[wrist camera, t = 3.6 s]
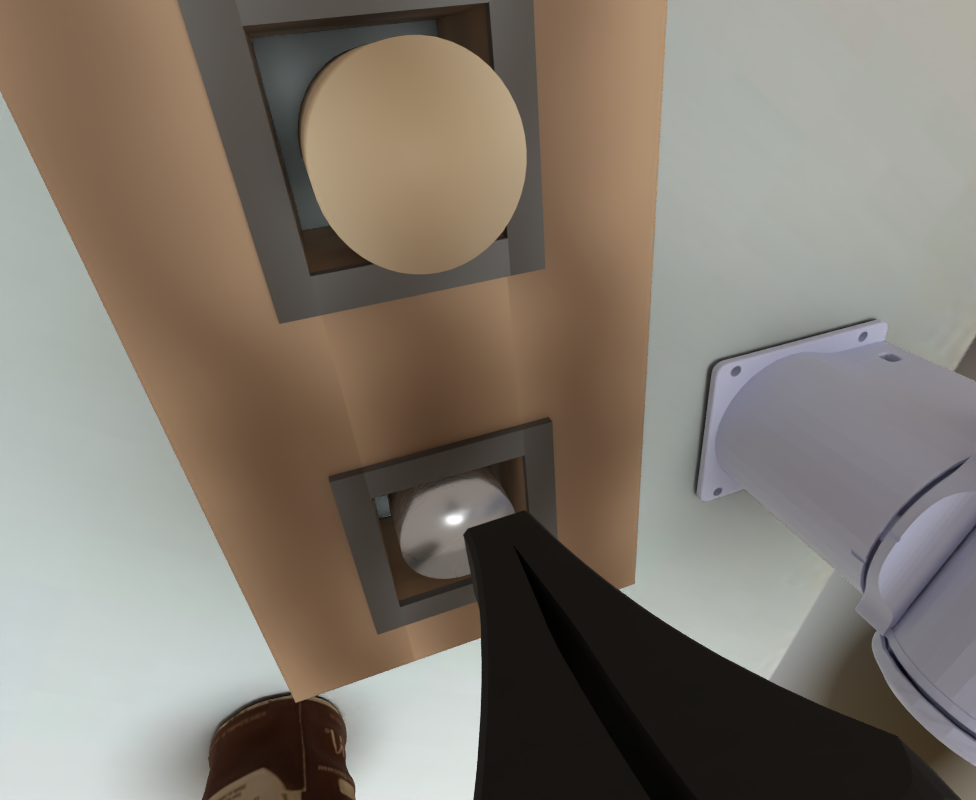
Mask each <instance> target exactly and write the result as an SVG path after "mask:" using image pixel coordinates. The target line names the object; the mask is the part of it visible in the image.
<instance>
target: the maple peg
mask: <svg viewBox="0 0 976 800" xmlns="http://www.w3.org/2000/svg"><path fill="white" fill-rule="evenodd" d="M298 137H299V145H300V151H301V155H302V158H303V161H304V164H305V167H306V170H307V173H308V176H309V179H310V182H311V185H312V188H313V191H314V194H315V197H316V200H317V202H318V204H319V206H320V208H321V210H322V213H323V215H324V216H325V218H326V219H327V221H328V223H329V224H330V226H331V227H332V229H333V230H334V231H335V232H336V234H337V235H338V236H339V237H340V238H341V239H342V240H343V241H344V242H345V243H346V244H347V245H348V246H349V247H350V248H351V249H352V250H353V251H355V252H356V253H357V254H359V255H360V256H361V257H363V258H365V259H366V260H368V261H370V262H372V263H374V264H376V265H378V266H380V267H383V268H385V269H388V270H392V271H396V272H400V273H407V274H432V273H439V272H443V271H447V270H451V269H453V268H456V267H458V266H461V265H463V264H465V263H467V262H469V261H470V260H472V259H474V258H475V257H477V256H478V255H479V254H481V253H482V252H483V251H485V250H486V249H487V248H488V247H489V246H490V245H491V244H492V243H493V242H494V241H495V240H496V239H497V238H498V237H499V235H500V234H501V233H502V232H503V230H504V229H505V227H506V226H507V224H508V223H509V221H510V220H511V218H512V216H513V214H514V212H515V209H516V207H517V205H518V202H519V199H520V196H521V194H522V189H523V185H524V181H525V174H526V165H527V149H526V141H525V133H524V129H523V125H522V121H521V118H520V115H519V112H518V109H517V106H516V104H515V102H514V100H513V98H512V96H511V94H510V92H509V91H508V89H507V88H506V86H505V85H504V83H503V82H502V80H501V79H500V78H499V76H498V75H497V74H496V73H495V72H494V71H493V70H492V68H491V67H490V66H489V65H487V64H486V63H485V62H484V61H483V60H482V59H481V58H479V57H478V56H477V55H475V54H474V53H472V52H471V51H469V50H468V49H466V48H464V47H462V46H460V45H458V44H456V43H454V42H451V41H448V40H445V39H441V38H438V37H433V36H426V35H403V36H397V37H392V38H387V39H384V40H380V41H377V42H374V43H370V44H367V45H363V46H360V47H356V48H353V49H351V50H348V51H345V52H343V53H341V54H339V55H338V56H336V57H334V58H333V59H332V60H330V61H329V62H328V63H326V64H325V65H324V66H323V67H322V68H321V69H320V70H319V71H318V73H317V74H316V75H315V77H314V78H313V80H312V81H311V82H310V84H309V86H308V88H307V90H306V92H305V95H304V98H303V101H302V104H301V108H300V113H299V121H298Z"/></svg>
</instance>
